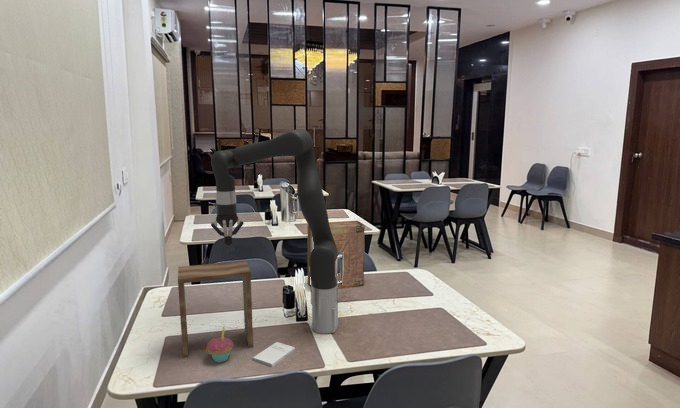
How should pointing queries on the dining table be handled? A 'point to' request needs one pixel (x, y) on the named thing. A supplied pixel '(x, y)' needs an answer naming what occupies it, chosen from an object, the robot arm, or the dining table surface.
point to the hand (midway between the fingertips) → (228, 245)
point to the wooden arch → (215, 273)
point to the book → (347, 251)
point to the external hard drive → (273, 354)
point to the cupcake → (220, 348)
